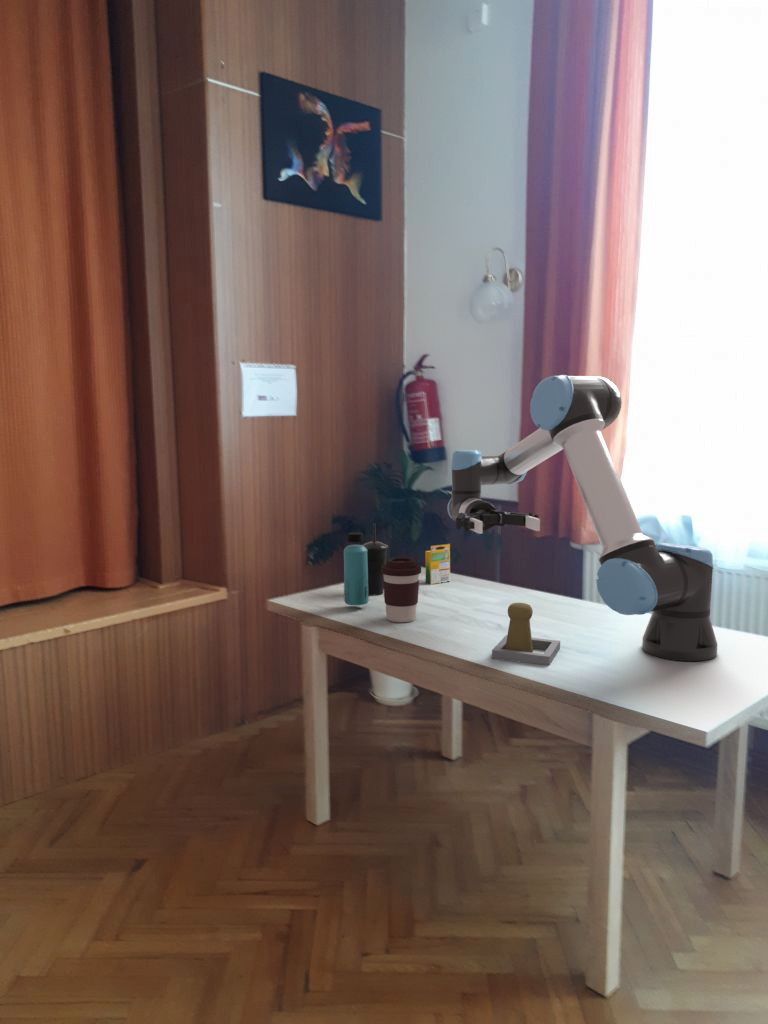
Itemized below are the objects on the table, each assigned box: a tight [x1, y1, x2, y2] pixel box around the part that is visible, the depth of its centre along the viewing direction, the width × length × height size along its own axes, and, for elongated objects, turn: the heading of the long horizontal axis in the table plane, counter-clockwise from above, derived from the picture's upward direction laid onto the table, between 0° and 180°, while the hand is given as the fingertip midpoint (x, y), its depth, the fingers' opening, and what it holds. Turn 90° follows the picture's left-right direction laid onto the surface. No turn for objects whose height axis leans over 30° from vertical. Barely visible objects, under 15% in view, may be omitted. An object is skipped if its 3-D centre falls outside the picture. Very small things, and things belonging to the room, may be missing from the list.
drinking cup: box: [362, 522, 389, 596], centre depth 225 cm, size 8×8×20 cm
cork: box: [505, 602, 534, 653], centre depth 170 cm, size 6×6×11 cm
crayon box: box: [424, 543, 451, 585], centre depth 239 cm, size 7×3×12 cm, turn 122°
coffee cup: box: [381, 557, 422, 623], centre depth 198 cm, size 10×10×15 cm
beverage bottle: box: [343, 532, 370, 606], centre depth 209 cm, size 6×7×20 cm
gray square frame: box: [491, 634, 561, 666], centre depth 171 cm, size 12×12×2 cm
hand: (510, 526), depth 178 cm, fingers open, 13 cm apart
